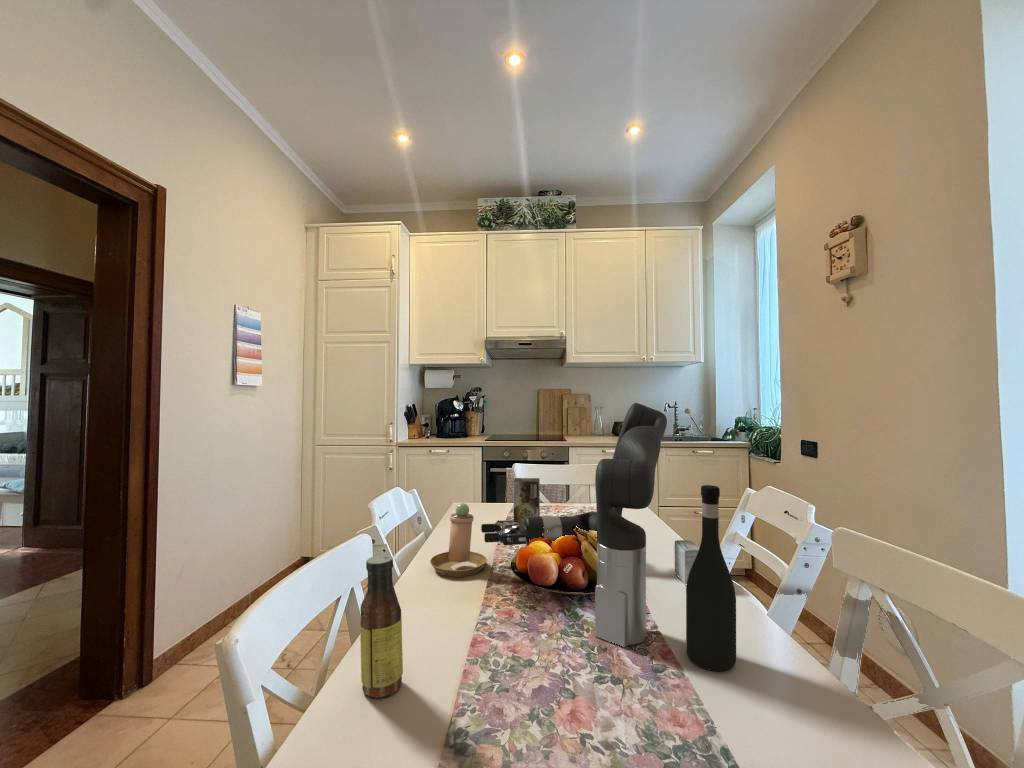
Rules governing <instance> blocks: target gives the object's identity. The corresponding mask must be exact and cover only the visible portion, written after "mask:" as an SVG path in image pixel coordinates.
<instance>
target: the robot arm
mask: <svg viewBox="0 0 1024 768" xmlns="http://www.w3.org/2000/svg"><path fill="white" fill-rule="evenodd" d="M667 425H668V418H667V416H666V414H665V413H663V412H661V411H660V410H658V409H657V410H656V409H654V408H653V407H652V408H651V407H649V406H646V405H644V404H642V403H639V402H634V403H633V404H631V405H630V406H629V408H628V410H627V412H626V415H625V417H624V419H623V423H622V425H621V428H620V431H619V435H618V438H617V442H616V445H615V447H614V452H613V455H612V456H613V457H612V458H602V459H600V460H599V461H598V462H597V466H596V469H595V476H594V477H595V478H594V481H595V482H594V485H595V486H594V487H595V503H596V511H588V512H584V513H579V514H576V515H573V516H572V515H571V516H570V515H568V516H564V515H563V516H553V515H542V516H541V515H540V516H534V517H525V519H524V523H523V524H518V521H517V520H514V519H513V520H507V519H506V520H496V522H495V523H482V524H481V526H480V528H481V529H480V530H481V533H483V534H484V536H483V537H484V539H483V540H484V542H485V543H486V544H487V543H500V544H502V546H515V545H517V546H518V545H526V546H528V545H529V539H530V540H531V539H533V538H539V537H541V538H548V539H551V540H552V541H555V540H556V539H557V538H559V537H561V536H565V535H574V534H573V531H572V526H573V525H575V526H577V527H578V528H580V529H583V530H586V531H589V530H595V531H597V543H596V586H595V587H594V592H595V593H594V595H595V596H594V598H595V601H594V610H595V611H594V637H596V638H599V639H601V640H604V641H606V642H609V643H611V642H612V643H611V644H614V643H615V644H614V645H616V644H618V645H617V646H619V645H620V646H619V647H621V646H622V648H627V646H633V645H638V644H640V643H642V642H644V641H645V639H646V636H647V631H646V630H647V533H646V531H645V529H644V528H643V527H642V526H640V525H639V524H637V523H634V522H633V521H630V520H629V519H627V518H625V517H624V516H623V509H630V510H642V509H647V507H649V506H650V504H651V503H652V500H653V497H654V493H655V492H654V491H655V482H656V481H655V479H656V467H657V463H658V460H659V458H660V453H661V444H662V439H663V438H664V434H665V432H666V429H667ZM543 527H544V528H543ZM547 530H548V532H547ZM549 532H550V533H549ZM542 533H543V534H544V535H543V536H542ZM551 537H552V538H551ZM528 547H529V546H528Z"/></svg>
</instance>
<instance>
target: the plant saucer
mask: <svg viewBox="0 0 1024 768" xmlns="http://www.w3.org/2000/svg"><path fill="white" fill-rule="evenodd" d="M448 554H449V551H445V552H441V553H438V554H436V555H434V556H432V557H431V558H430V560H429V564H430V565H431V566H432V567H433V569H434V570H435V572H437V573H439V574H440V575H443V576H446V577H455V578H456V577H466V576H467V577H468V576H471V575H474V574H476V573H478V572H479V571H480V570H481V569H482V568H483V567H484V566H485V565H486V562H487V557H486V556H485V555H483V554H481V553H479V552H475V551H471V550H470V559H469V561H466V562H467V563H471V564H474V565H476V566H475V567H473V568H469V569H468V568H467V569H457V570H455V569H453V568H452V567H453V566H455V565H458V564H462V563H463V562H453V561H450V560H449V559H448ZM466 562H465V563H466Z"/></svg>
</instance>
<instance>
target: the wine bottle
mask: <svg viewBox="0 0 1024 768" xmlns="http://www.w3.org/2000/svg"><path fill="white" fill-rule="evenodd" d="M720 494H721V492H720V487H719V486H717V485H713V484H712V485H710V484H703V485H701V486H700V495H701V521H702V522H701V524H702V525H701V540H700V545H699V551H698V553H697V556H696V558H695V561H694V563H693V565H692V567H691V570H690V572H689V576H688V580H687V585H685V586H686V587H685V650H686V655H687V657H688V658H689V659H690V660H691V662H693V663H694V664H695V665H697V666H698V665H699V666H698V667H700V666H701V667H700V668H703V669H705V668H706V670H708V669H710V670H709V671H712V670H717V671H716V672H725V671H724V670H726V671H729V670H730V668H731V669H733V668H734V666H735V664H736V662H737V597H736V590H735V586H734V581H733V579H732V575H731V573H730V571H729V568H728V565H727V563H726V560H725V558H724V555H723V553H722V548H721V544H720V537H719V535H720V534H719V533H720V532H719V522H720V521H719V520H720V519H719V518H720V517H719V515H720V514H719V513H720V512H719V510H720V509H719V508H720V506H719V505H720V504H719V502H720V496H721V495H720Z"/></svg>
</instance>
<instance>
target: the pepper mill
mask: <svg viewBox="0 0 1024 768" xmlns="http://www.w3.org/2000/svg"><path fill="white" fill-rule="evenodd" d="M474 519H475V518H474V516H473V514H471V513H470V508H469V506H468V504H467V503H463V502H460V503H459V504H457V506H456V507H455V513H451V514H450V515H449V521H450V527H449V528H450V530H449V543H448V552H449V554H448V559H449V560H450V561H453V562H462V563H466V561H469V559H470V551H471V545H472V543H471V542H472V530H473V529H472V528H473V522H474Z"/></svg>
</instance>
